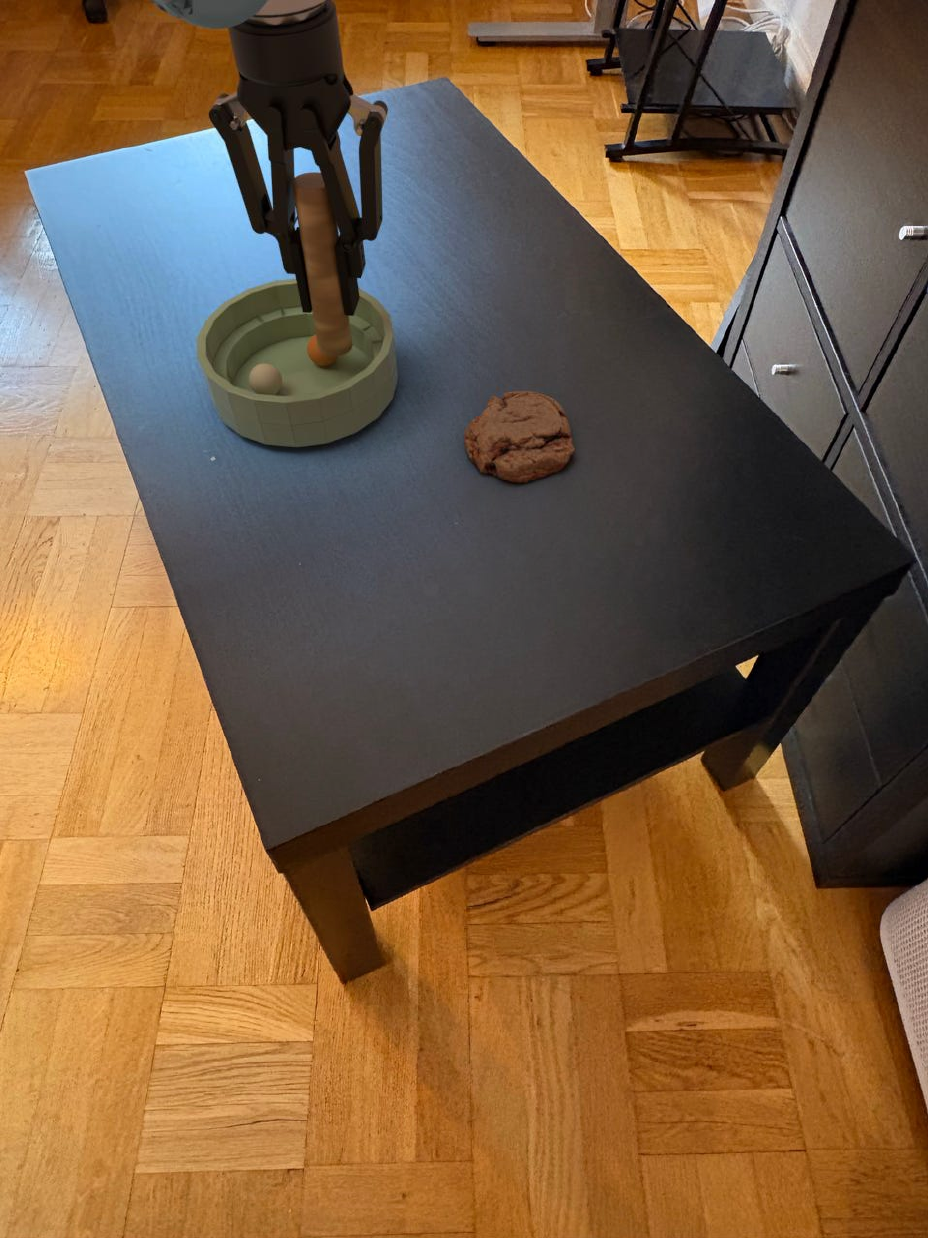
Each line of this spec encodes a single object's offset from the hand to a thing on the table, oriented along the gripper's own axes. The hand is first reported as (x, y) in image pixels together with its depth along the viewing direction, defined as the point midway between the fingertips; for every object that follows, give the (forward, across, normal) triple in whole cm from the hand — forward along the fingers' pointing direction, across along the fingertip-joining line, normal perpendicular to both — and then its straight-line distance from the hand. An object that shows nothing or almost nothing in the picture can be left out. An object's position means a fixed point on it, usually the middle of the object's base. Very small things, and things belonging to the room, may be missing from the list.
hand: (331, 304), depth 76 cm
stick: (+4, 0, +1) cm, 4 cm away
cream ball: (+5, +6, +5) cm, 9 cm away
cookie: (+8, -18, +8) cm, 21 cm away
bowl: (+8, +3, +3) cm, 9 cm away
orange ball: (+5, +2, 0) cm, 6 cm away
